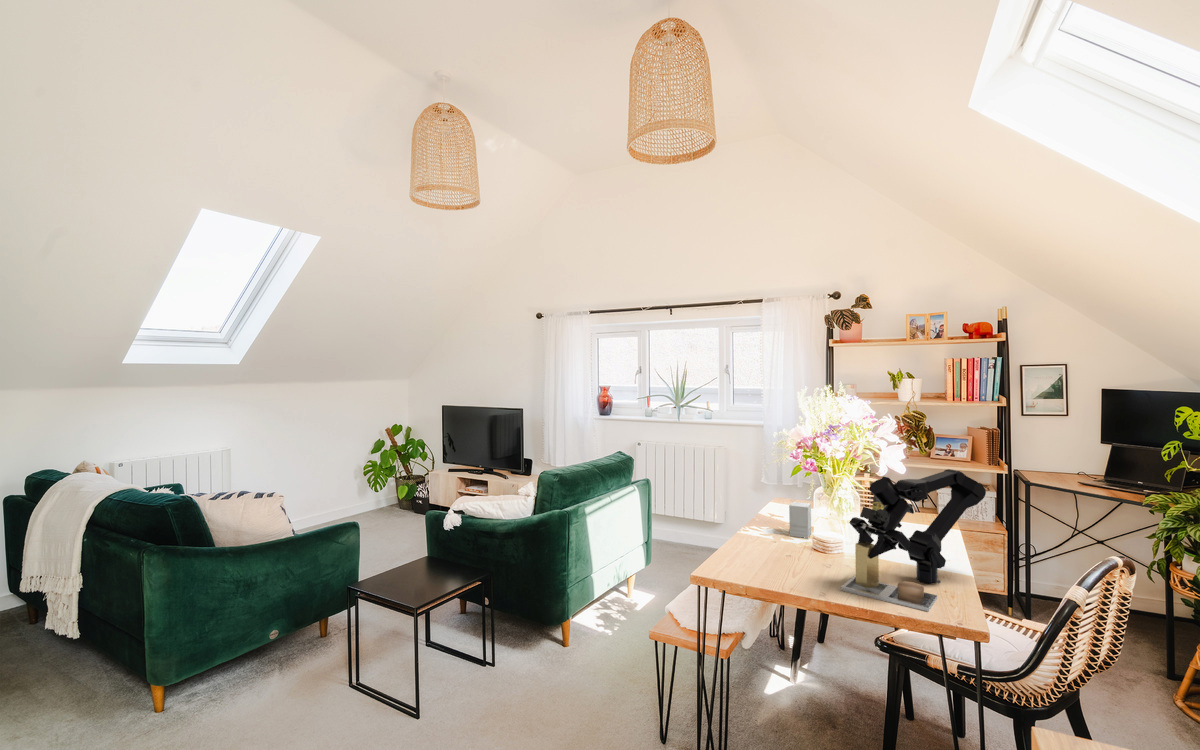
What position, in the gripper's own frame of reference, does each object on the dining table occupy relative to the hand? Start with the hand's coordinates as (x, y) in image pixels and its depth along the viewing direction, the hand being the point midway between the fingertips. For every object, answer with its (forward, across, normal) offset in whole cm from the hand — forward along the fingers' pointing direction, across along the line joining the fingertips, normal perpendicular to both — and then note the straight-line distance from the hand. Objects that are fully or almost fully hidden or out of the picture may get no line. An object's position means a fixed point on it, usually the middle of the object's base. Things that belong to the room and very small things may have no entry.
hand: (863, 555), depth 169 cm
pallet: (+5, +5, +11) cm, 13 cm away
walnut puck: (+2, +10, +12) cm, 16 cm away
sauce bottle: (-33, -52, +50) cm, 79 cm away
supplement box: (-7, -56, +24) cm, 61 cm away
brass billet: (+5, 0, +7) cm, 9 cm away
